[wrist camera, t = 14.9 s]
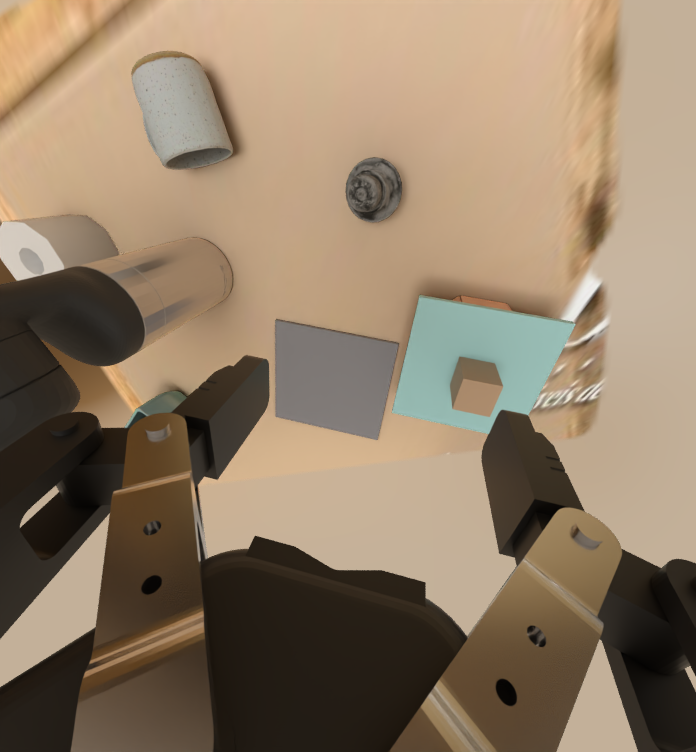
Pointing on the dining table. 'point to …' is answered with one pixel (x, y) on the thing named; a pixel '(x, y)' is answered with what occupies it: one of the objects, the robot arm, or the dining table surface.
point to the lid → (475, 362)
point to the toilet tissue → (52, 244)
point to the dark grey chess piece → (373, 189)
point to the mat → (332, 378)
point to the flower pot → (157, 406)
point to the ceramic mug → (180, 111)
